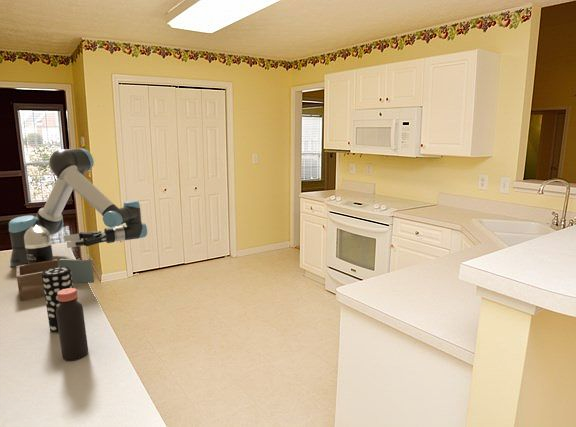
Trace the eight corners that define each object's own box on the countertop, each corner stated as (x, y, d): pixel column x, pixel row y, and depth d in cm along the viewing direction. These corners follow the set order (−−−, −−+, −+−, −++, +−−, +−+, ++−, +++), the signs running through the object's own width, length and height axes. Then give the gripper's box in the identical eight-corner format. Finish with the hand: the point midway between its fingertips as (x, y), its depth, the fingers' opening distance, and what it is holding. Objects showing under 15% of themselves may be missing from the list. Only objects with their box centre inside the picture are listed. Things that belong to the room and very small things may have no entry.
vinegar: (82, 346, 122) (74, 284, 118) (92, 353, 118) (84, 290, 114) (58, 356, 117) (49, 292, 113) (68, 364, 113) (59, 298, 109)
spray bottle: (44, 281, 177) (35, 227, 172) (24, 280, 179) (15, 226, 174) (61, 273, 187) (54, 221, 182) (42, 272, 189) (34, 221, 184)
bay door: (62, 281, 178) (59, 259, 176) (63, 280, 179) (60, 258, 177) (92, 282, 175) (90, 261, 173) (94, 282, 176) (91, 260, 174)
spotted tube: (51, 324, 137) (43, 268, 133) (78, 319, 140) (71, 265, 136) (48, 335, 129) (39, 276, 125) (77, 329, 133) (69, 272, 129)
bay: (20, 288, 170) (16, 266, 168) (60, 280, 178) (57, 259, 176) (20, 301, 157) (16, 276, 155) (63, 292, 165) (60, 269, 163)
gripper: (120, 247, 188) (69, 255, 176) (110, 236, 208) (63, 243, 197) (118, 232, 186) (67, 239, 175) (108, 222, 207) (61, 228, 195)
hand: (65, 241), depth 186 cm, fingers open, 13 cm apart
